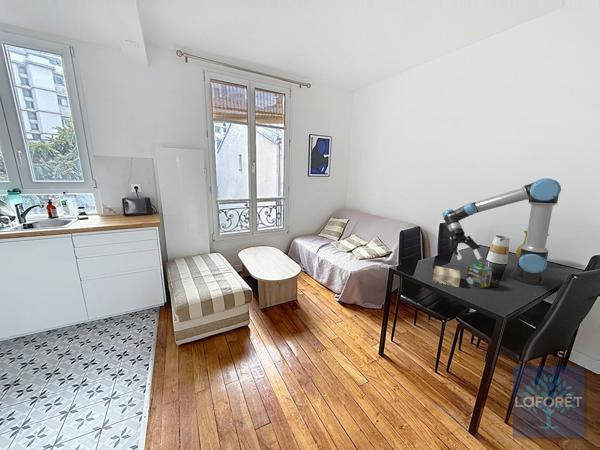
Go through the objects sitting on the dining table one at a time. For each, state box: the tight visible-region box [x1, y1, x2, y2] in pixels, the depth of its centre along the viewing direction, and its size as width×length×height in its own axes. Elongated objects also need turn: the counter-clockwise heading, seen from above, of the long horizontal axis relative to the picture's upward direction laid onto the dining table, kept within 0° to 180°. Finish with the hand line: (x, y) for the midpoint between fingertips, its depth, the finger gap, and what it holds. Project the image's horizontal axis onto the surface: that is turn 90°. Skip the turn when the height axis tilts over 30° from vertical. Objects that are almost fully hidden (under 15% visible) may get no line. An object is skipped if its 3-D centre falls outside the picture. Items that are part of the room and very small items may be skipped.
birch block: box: [432, 265, 461, 288], centre depth 154 cm, size 14×14×6 cm
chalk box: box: [465, 260, 493, 289], centre depth 148 cm, size 9×9×15 cm
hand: (470, 259), depth 153 cm, fingers open, 13 cm apart
